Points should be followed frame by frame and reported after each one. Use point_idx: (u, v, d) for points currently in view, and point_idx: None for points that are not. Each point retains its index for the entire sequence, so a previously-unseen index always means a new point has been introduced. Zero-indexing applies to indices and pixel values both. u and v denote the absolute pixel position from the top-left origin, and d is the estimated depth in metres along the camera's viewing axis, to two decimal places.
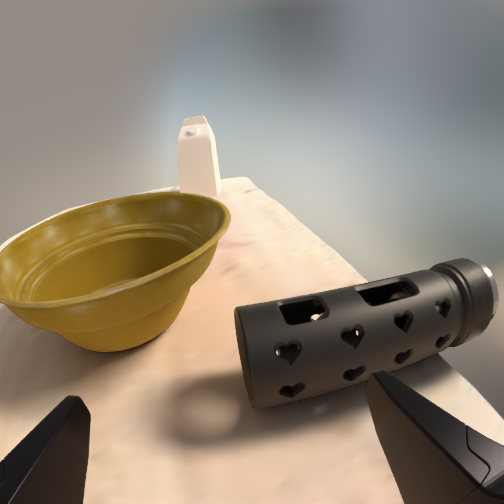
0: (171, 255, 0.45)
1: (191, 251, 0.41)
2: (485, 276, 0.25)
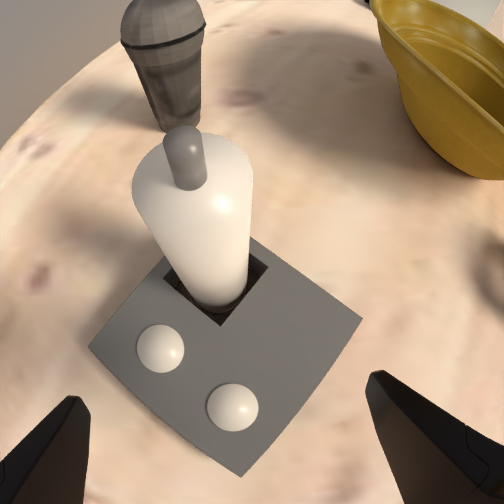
0: None
1: None
2: None
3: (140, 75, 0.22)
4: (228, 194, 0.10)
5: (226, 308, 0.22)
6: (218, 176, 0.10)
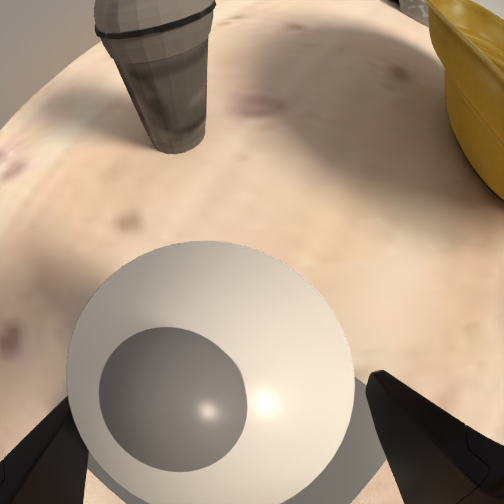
0: None
1: None
2: None
3: (122, 76, 0.15)
4: (298, 437, 0.04)
5: None
6: (272, 388, 0.04)
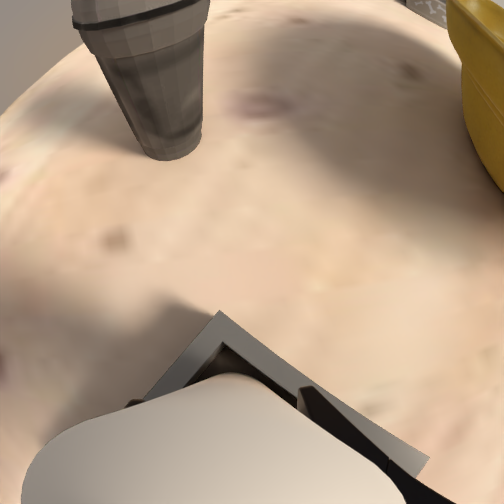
0: None
1: None
2: None
3: (105, 74, 0.13)
4: None
5: None
6: None
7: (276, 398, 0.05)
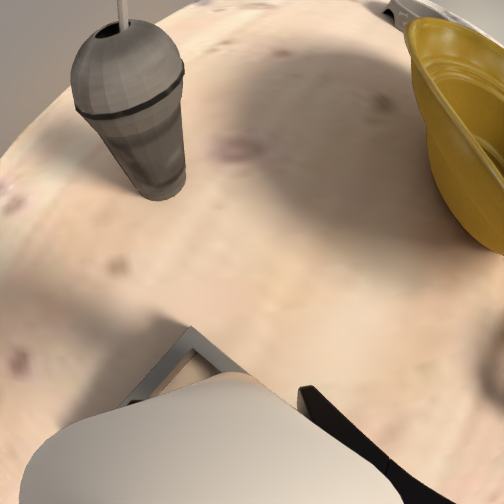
0: None
1: None
2: None
3: (104, 141, 0.18)
4: None
5: None
6: None
7: (274, 398, 0.05)
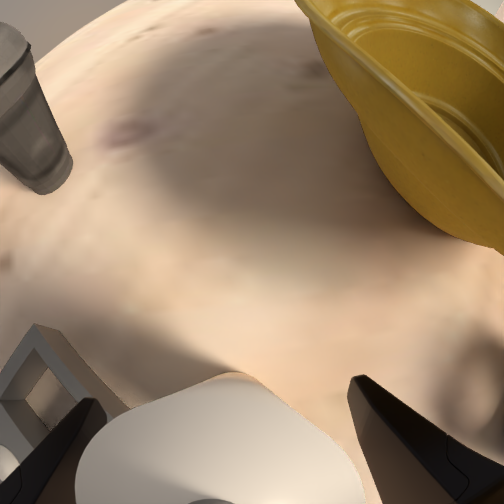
0: None
1: None
2: None
3: None
4: None
5: None
6: None
7: (268, 393, 0.06)
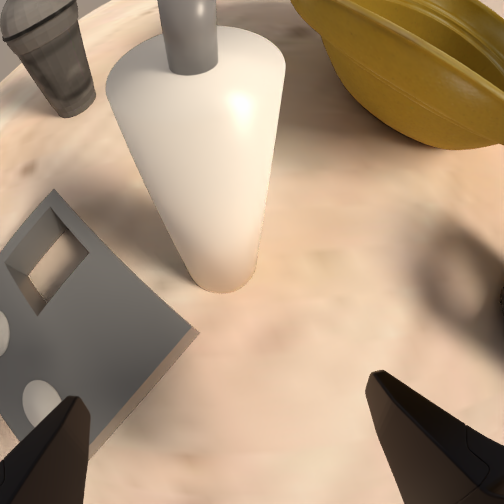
0: (484, 78, 0.23)
1: None
2: None
3: (23, 64, 0.16)
4: (250, 78, 0.06)
5: (231, 287, 0.17)
6: (234, 61, 0.06)
7: None
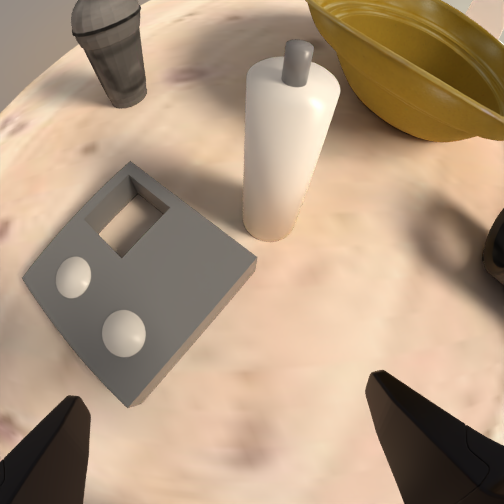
0: (469, 83, 0.29)
1: (495, 100, 0.25)
2: None
3: (88, 58, 0.23)
4: (325, 92, 0.12)
5: (280, 234, 0.24)
6: (314, 82, 0.12)
7: None
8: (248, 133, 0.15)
